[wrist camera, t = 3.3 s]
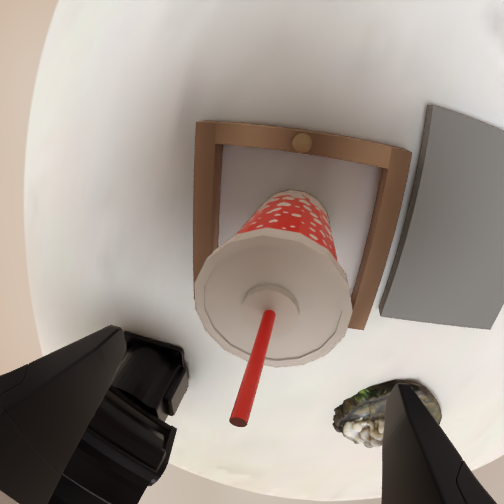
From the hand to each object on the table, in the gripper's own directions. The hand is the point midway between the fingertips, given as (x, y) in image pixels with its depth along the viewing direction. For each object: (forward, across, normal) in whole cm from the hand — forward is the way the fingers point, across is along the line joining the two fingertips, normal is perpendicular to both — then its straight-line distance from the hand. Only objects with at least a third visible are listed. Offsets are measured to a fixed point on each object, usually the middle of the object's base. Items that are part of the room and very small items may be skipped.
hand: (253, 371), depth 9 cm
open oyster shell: (+13, -13, +17) cm, 25 cm away
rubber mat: (+12, -12, -2) cm, 17 cm away
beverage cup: (+12, 0, 0) cm, 12 cm away
